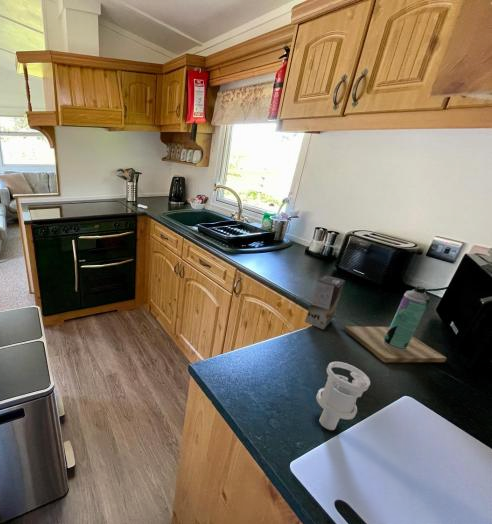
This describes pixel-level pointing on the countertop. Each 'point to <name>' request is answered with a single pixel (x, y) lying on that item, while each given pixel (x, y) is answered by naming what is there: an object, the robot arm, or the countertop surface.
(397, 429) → the countertop surface
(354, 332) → the chopping board
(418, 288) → the spray can
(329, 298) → the coffee box
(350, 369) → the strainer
